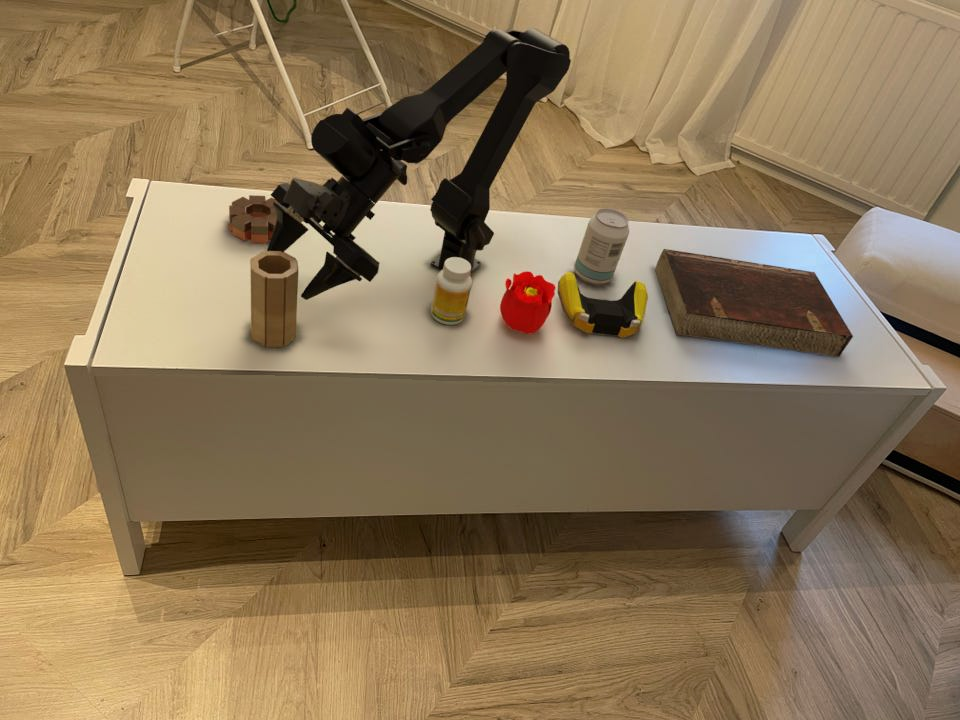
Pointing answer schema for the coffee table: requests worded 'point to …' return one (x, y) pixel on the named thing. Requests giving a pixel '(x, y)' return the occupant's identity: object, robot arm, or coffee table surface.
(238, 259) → the coffee table surface
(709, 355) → the coffee table surface
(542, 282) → the flower
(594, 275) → the beverage can
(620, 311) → the gaming controller
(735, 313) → the book
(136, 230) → the coffee table surface
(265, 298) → the tall ring
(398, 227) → the coffee table surface
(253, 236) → the ring stack
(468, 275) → the supplement bottle
